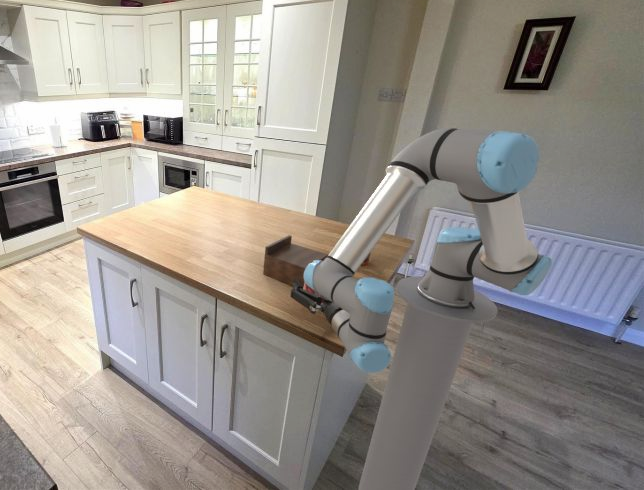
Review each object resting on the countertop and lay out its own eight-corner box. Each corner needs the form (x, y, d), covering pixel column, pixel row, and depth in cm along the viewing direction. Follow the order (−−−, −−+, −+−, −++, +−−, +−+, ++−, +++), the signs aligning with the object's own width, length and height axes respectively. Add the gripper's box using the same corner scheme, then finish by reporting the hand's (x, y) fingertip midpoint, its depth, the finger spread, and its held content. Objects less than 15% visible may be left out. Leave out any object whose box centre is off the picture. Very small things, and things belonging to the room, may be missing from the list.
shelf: (325, 274, 126) (329, 246, 122) (303, 290, 116) (307, 260, 112) (286, 261, 137) (289, 235, 133) (263, 274, 126) (265, 246, 122)
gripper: (294, 332, 89) (275, 290, 109) (390, 332, 90) (354, 290, 109) (297, 307, 86) (277, 269, 106) (397, 307, 87) (358, 269, 107)
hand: (316, 280), depth 108 cm, fingers open, 13 cm apart
